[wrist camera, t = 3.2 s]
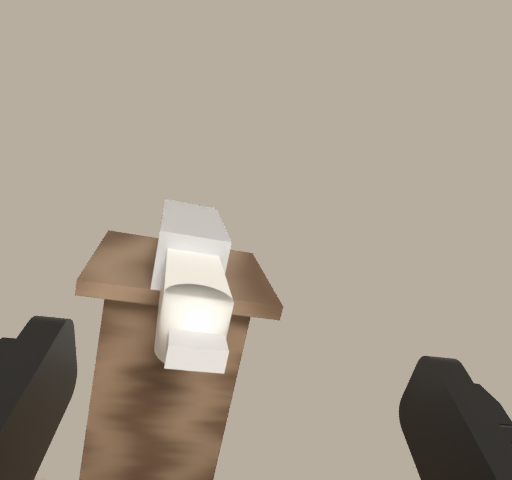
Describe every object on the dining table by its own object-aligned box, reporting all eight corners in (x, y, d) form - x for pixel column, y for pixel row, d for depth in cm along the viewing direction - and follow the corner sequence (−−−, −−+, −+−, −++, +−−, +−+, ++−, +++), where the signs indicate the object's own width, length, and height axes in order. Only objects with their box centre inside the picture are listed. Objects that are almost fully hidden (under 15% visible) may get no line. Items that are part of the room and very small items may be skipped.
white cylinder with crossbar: (243, 394, 17) (263, 311, 16) (134, 386, 16) (149, 297, 15) (207, 249, 37) (215, 208, 36) (158, 241, 36) (165, 199, 35)
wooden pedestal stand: (193, 525, 48) (254, 249, 40) (198, 670, 35) (290, 307, 28) (65, 524, 45) (105, 225, 37) (20, 684, 32) (67, 278, 25)
